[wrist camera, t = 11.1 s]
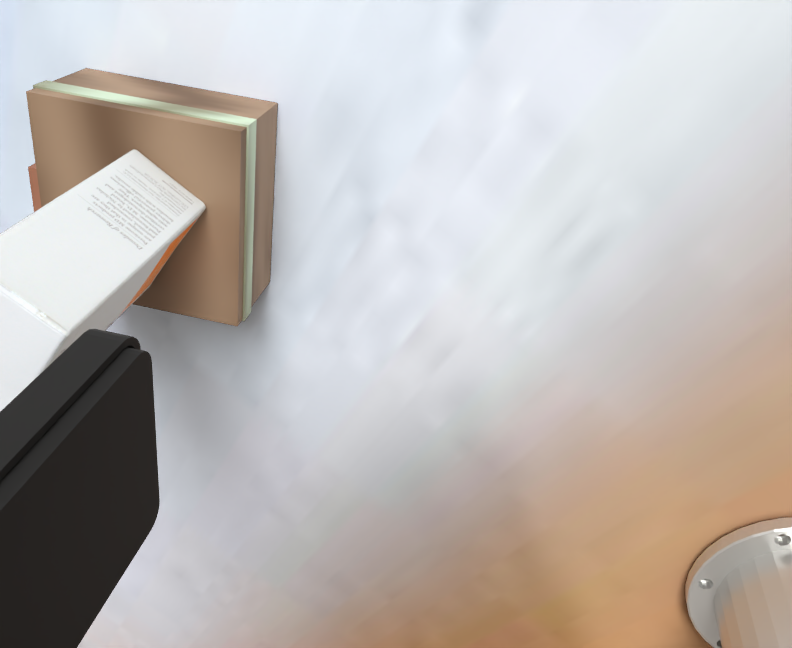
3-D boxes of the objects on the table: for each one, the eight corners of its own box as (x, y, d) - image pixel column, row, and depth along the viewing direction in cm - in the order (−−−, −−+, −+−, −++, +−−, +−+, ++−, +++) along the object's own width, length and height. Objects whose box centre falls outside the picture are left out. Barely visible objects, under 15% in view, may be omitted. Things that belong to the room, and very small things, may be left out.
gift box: (279, 101, 37) (243, 129, 32) (271, 283, 42) (239, 328, 38) (72, 63, 38) (11, 86, 33) (90, 246, 43) (39, 286, 39)
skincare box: (152, 288, 38) (1, 438, 27) (80, 233, 37) (-104, 367, 27) (213, 204, 35) (68, 338, 24) (136, 142, 34) (-47, 254, 24)
